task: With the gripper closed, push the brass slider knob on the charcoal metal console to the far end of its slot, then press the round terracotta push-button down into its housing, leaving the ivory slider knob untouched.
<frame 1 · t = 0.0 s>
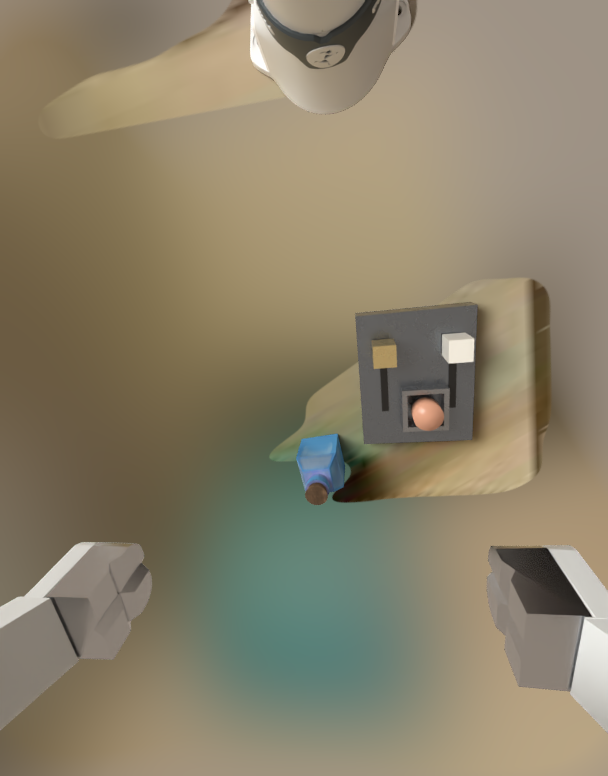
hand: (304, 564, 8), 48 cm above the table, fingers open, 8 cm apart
perfume bottle: (323, 451, 62), on the table
push button: (427, 413, 51), point 6 cm above the table, slide at 0.0 cm
brass slider: (383, 353, 50), point 5 cm above the table, slide at 0.0 cm
ivory slider: (457, 347, 48), point 5 cm above the table, slide at 0.0 cm
console: (412, 374, 55), on the table
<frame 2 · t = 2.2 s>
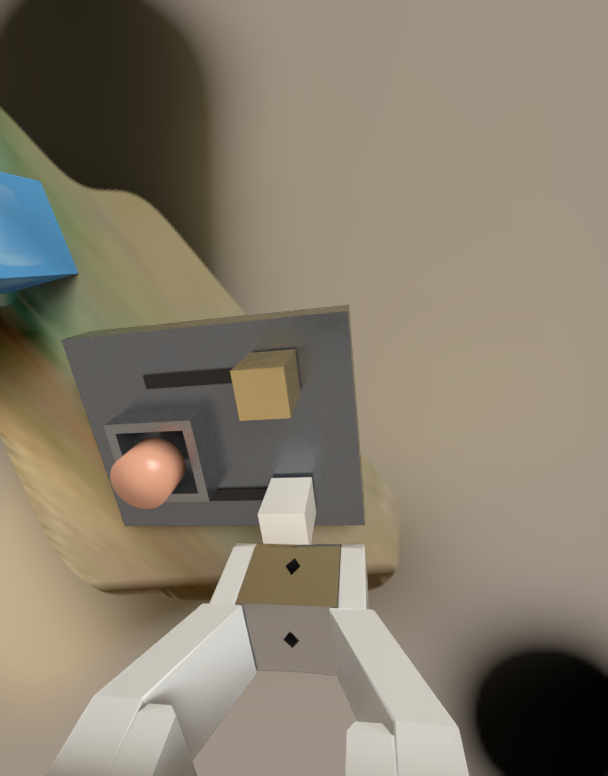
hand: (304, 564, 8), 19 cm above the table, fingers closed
perfume bottle: (27, 240, 27), on the table
push button: (149, 472, 25), point 6 cm above the table, slide at 0.0 cm
brass slider: (268, 383, 22), point 5 cm above the table, slide at 0.0 cm
ivory slider: (289, 512, 25), point 5 cm above the table, slide at 0.0 cm
console: (231, 418, 29), on the table
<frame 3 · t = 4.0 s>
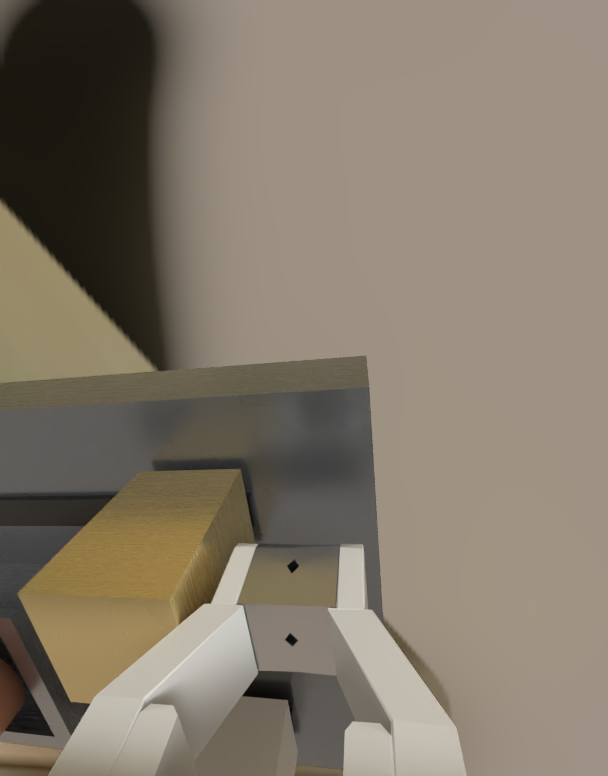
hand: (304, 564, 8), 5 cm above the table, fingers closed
brass slider: (166, 570, 9), point 5 cm above the table, slide at 0.0 cm, touching gripper
console: (146, 549, 16), on the table
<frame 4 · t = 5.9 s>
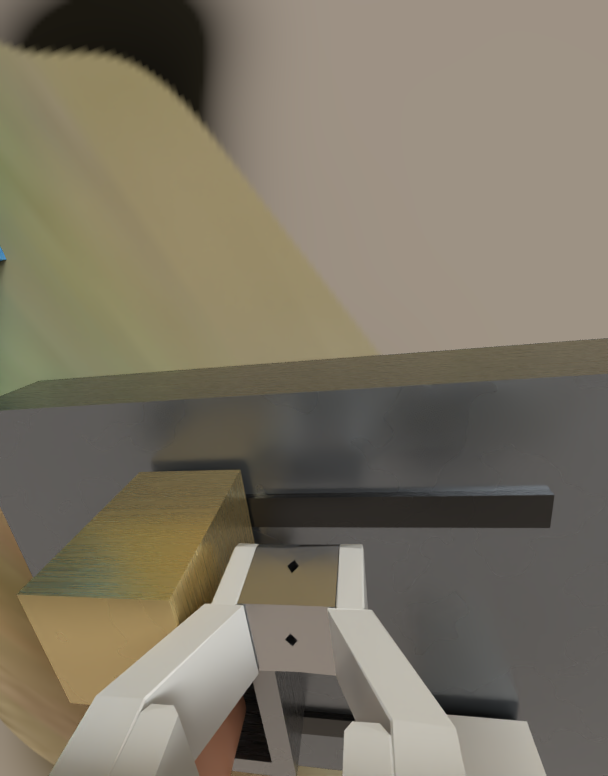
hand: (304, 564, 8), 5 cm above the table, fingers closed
push button: (162, 747, 10), point 6 cm above the table, slide at 0.0 cm
brass slider: (166, 571, 9), point 5 cm above the table, slide at 7.9 cm, touching gripper
console: (322, 552, 15), on the table
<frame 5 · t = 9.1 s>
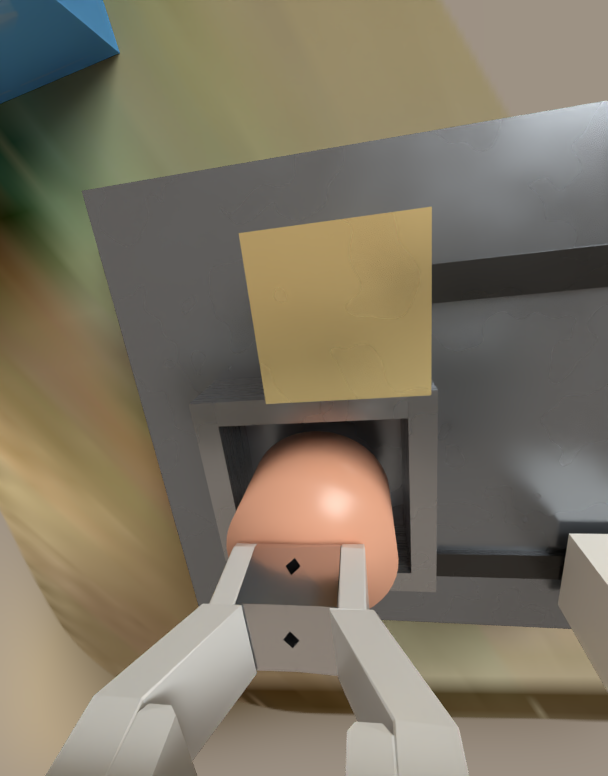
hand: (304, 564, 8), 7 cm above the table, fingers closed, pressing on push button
push button: (315, 520, 10), point 6 cm above the table, slide at 0.3 cm, touching gripper
brass slider: (343, 302, 8), point 5 cm above the table, slide at 7.9 cm
console: (432, 397, 14), on the table
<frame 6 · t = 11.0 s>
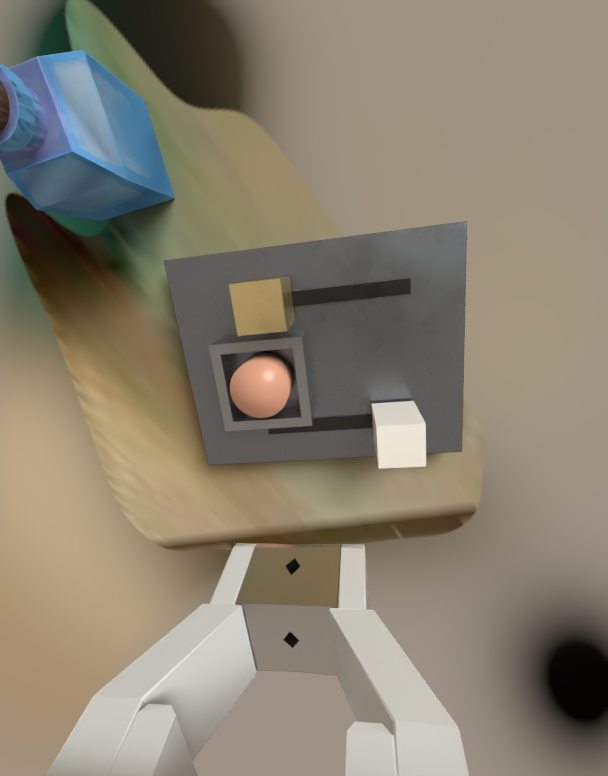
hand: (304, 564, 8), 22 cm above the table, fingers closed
perfume bottle: (123, 164, 26), on the table
push button: (262, 384, 26), point 5 cm above the table, slide at 1.5 cm
brass slider: (265, 304, 23), point 5 cm above the table, slide at 7.9 cm
ivory slider: (397, 432, 25), point 5 cm above the table, slide at 0.0 cm
console: (321, 351, 29), on the table
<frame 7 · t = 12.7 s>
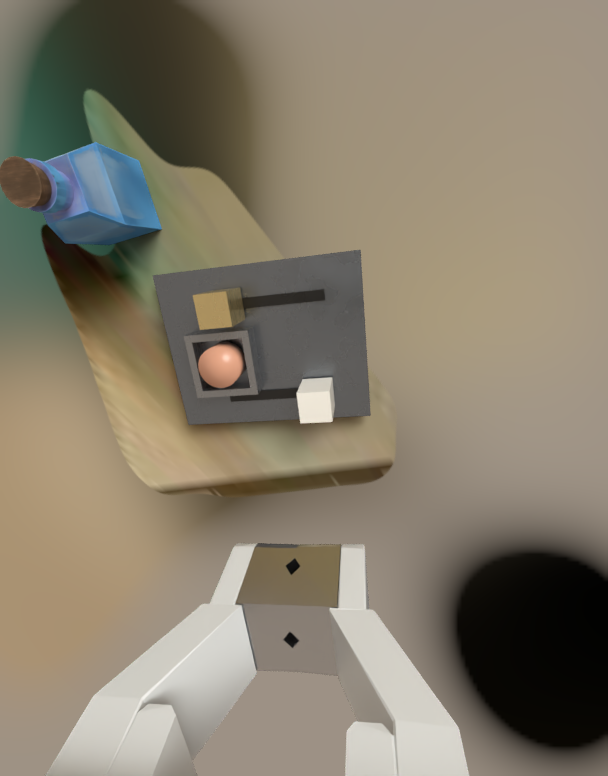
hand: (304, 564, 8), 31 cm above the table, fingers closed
perfume bottle: (124, 205, 37), on the table
push button: (222, 364, 36), point 5 cm above the table, slide at 1.5 cm
brass slider: (220, 307, 33), point 5 cm above the table, slide at 7.9 cm
ivory slider: (316, 399, 35), point 5 cm above the table, slide at 0.0 cm
console: (271, 340, 39), on the table
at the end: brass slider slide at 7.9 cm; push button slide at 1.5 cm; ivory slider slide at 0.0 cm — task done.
